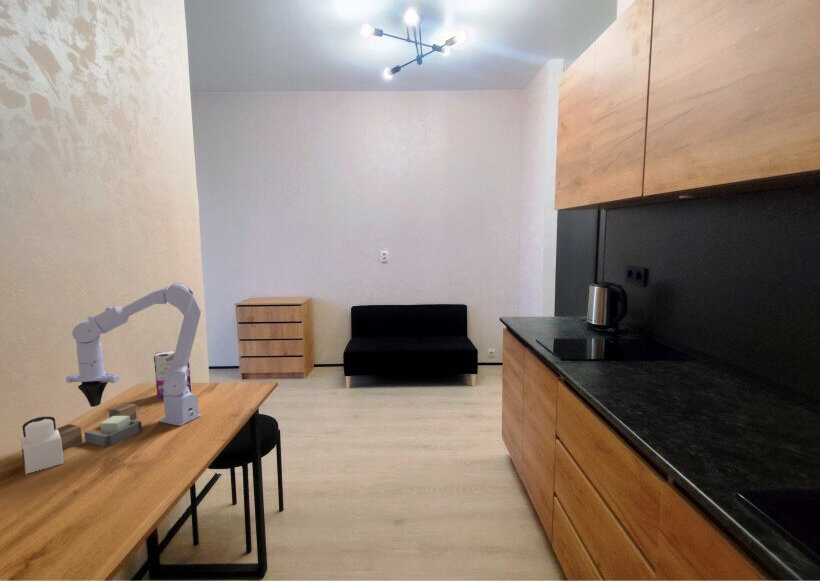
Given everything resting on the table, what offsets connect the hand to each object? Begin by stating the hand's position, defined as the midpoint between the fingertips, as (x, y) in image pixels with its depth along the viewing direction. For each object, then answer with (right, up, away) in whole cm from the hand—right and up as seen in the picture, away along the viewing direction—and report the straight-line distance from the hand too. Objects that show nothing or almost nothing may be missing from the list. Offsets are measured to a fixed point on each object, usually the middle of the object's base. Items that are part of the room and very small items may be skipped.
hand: (95, 405), depth 116 cm
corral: (+7, -9, -1) cm, 11 cm away
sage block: (+7, -9, 0) cm, 11 cm away
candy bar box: (+4, -5, +32) cm, 33 cm away
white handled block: (-1, -11, -15) cm, 19 cm away
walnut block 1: (-3, -10, -6) cm, 12 cm away
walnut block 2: (+2, -8, +9) cm, 12 cm away
